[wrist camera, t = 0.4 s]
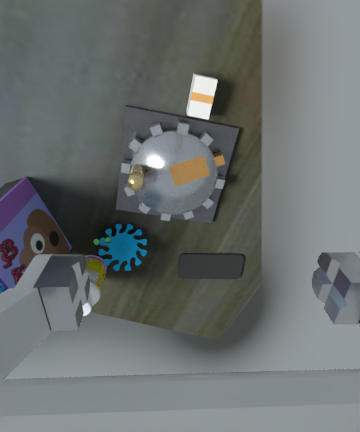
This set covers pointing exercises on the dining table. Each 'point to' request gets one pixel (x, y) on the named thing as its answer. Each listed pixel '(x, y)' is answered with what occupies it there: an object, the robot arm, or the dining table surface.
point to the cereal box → (25, 231)
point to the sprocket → (173, 171)
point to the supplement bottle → (94, 280)
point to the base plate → (142, 119)
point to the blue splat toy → (121, 247)
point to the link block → (201, 96)
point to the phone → (210, 265)
